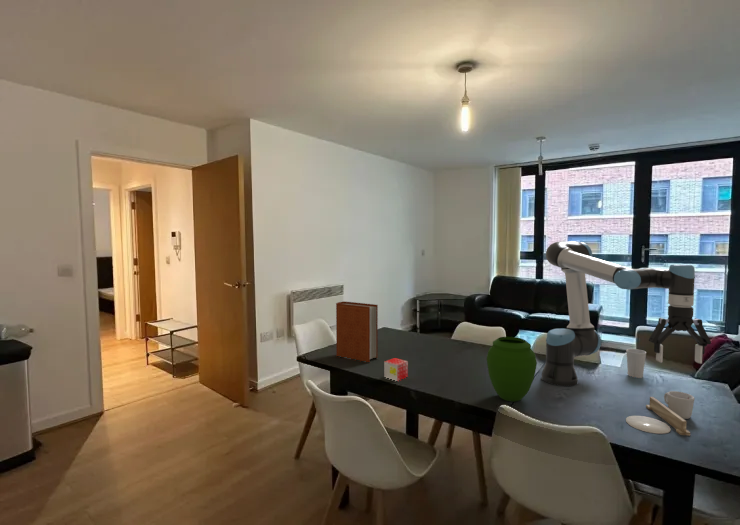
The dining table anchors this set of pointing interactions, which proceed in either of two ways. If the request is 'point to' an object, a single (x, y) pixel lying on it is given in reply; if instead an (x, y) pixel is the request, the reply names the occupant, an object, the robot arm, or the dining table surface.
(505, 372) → the vase
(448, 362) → the dining table surface
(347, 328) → the book
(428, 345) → the dining table surface
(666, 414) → the rail
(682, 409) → the cup
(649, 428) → the coaster
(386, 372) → the puzzle cube
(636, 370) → the cup
